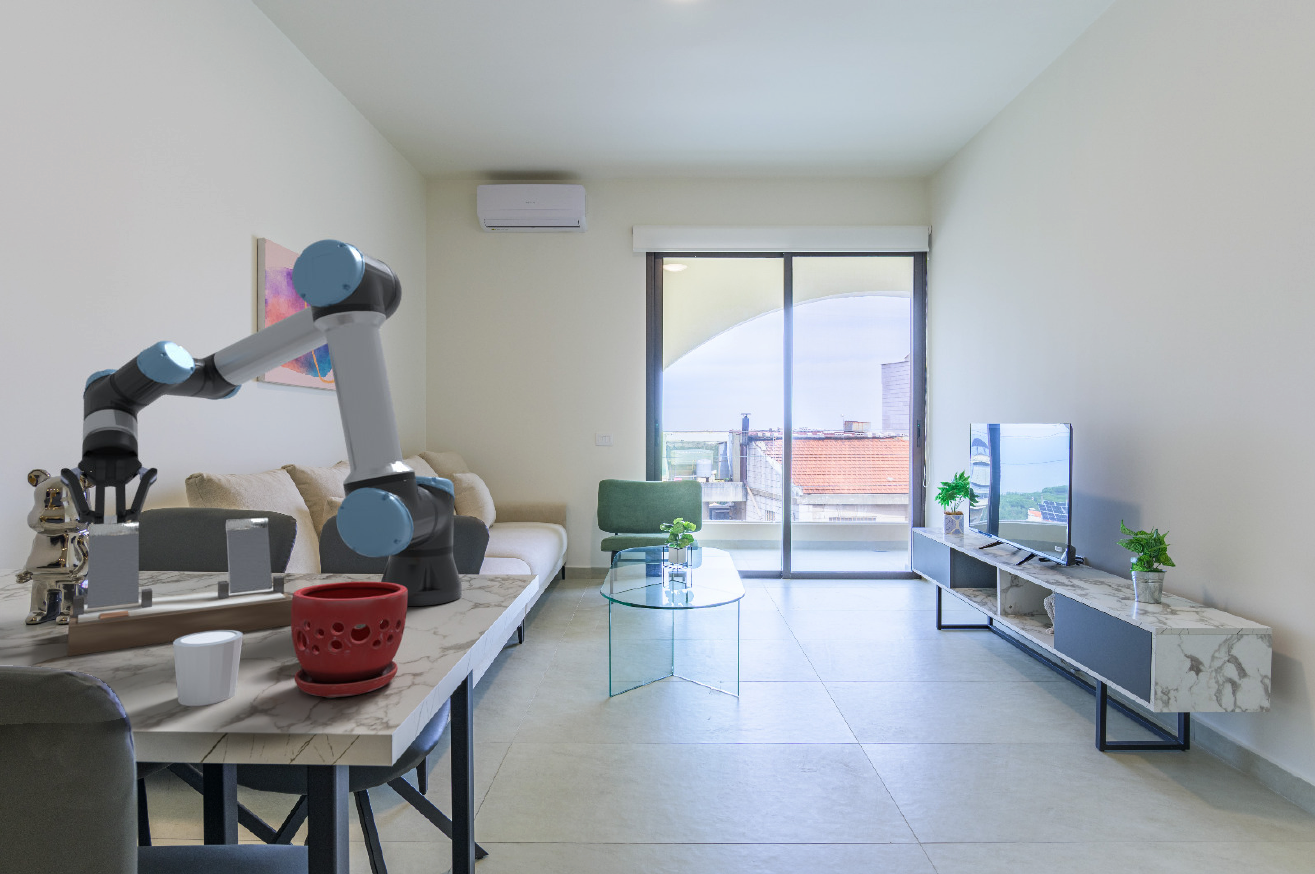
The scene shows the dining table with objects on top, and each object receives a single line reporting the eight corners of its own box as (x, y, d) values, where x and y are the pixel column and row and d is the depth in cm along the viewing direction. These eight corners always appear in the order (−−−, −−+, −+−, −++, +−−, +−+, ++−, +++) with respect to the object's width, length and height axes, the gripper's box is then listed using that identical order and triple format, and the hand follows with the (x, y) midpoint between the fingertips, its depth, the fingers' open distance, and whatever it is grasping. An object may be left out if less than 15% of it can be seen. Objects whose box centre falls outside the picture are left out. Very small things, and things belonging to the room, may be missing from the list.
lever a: (229, 594, 114) (225, 522, 118) (270, 589, 118) (265, 520, 122) (231, 590, 112) (227, 517, 117) (272, 586, 116) (267, 515, 120)
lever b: (87, 609, 102) (89, 526, 106) (138, 603, 106) (138, 523, 109) (87, 607, 101) (89, 522, 104) (138, 601, 105) (138, 520, 108)
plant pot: (399, 699, 81) (401, 597, 81) (275, 708, 78) (277, 601, 78) (410, 664, 94) (412, 575, 94) (304, 670, 91) (306, 579, 91)
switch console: (69, 633, 106) (70, 589, 106) (275, 607, 123) (276, 569, 123) (67, 656, 95) (68, 607, 95) (294, 624, 113) (294, 583, 113)
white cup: (171, 693, 82) (172, 634, 82) (239, 682, 86) (240, 626, 86) (171, 712, 76) (173, 648, 76) (244, 699, 80) (245, 639, 80)
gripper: (156, 457, 126) (160, 564, 113) (60, 457, 118) (53, 572, 105) (159, 428, 122) (163, 536, 109) (60, 426, 114) (53, 542, 101)
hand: (109, 553), depth 107 cm, fingers closed
